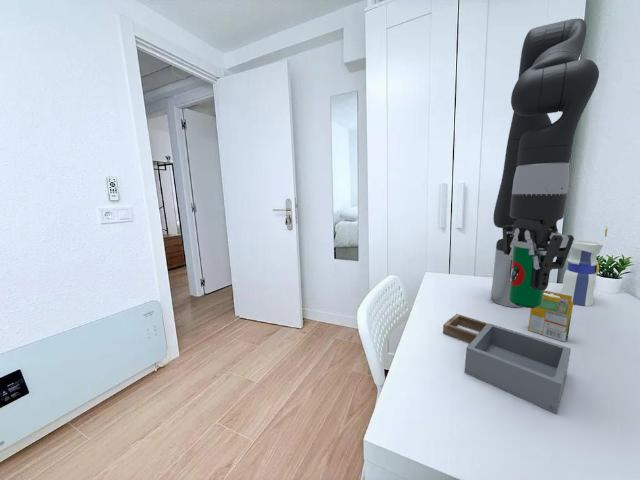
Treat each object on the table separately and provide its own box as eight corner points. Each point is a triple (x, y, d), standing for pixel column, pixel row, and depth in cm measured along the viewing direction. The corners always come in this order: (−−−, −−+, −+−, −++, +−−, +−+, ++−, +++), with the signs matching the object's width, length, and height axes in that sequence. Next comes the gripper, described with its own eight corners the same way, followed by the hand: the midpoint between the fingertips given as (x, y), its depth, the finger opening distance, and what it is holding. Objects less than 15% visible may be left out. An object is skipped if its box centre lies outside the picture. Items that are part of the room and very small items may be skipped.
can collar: (455, 322, 73) (456, 313, 73) (491, 333, 67) (492, 324, 67) (442, 333, 68) (443, 324, 67) (479, 347, 61) (480, 337, 61)
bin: (486, 344, 62) (488, 323, 61) (566, 373, 52) (570, 348, 51) (464, 372, 53) (466, 347, 52) (556, 414, 43) (561, 384, 42)
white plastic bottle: (589, 298, 87) (602, 223, 82) (598, 308, 80) (613, 226, 75) (556, 294, 91) (567, 222, 87) (561, 303, 84) (574, 225, 79)
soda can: (535, 311, 46) (543, 244, 44) (503, 302, 51) (509, 241, 49) (546, 304, 49) (554, 241, 47) (514, 296, 53) (520, 238, 51)
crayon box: (568, 338, 64) (575, 293, 62) (565, 342, 63) (572, 296, 61) (531, 326, 70) (536, 285, 68) (527, 330, 68) (533, 287, 66)
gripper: (601, 191, 39) (583, 299, 42) (530, 191, 53) (520, 272, 56) (549, 192, 39) (534, 299, 42) (492, 192, 53) (484, 272, 57)
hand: (526, 283), depth 49 cm, fingers closed on soda can, 5 cm apart
